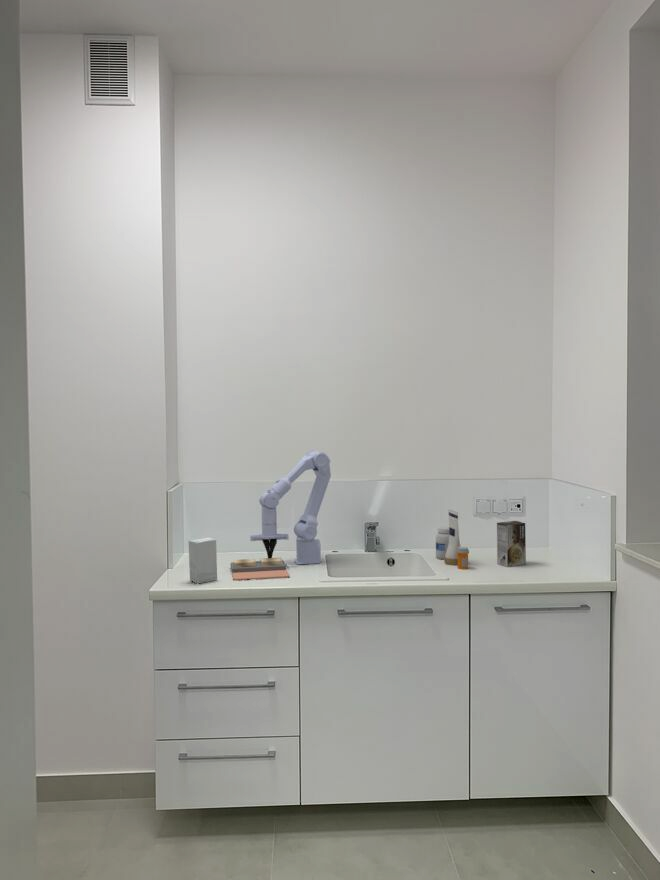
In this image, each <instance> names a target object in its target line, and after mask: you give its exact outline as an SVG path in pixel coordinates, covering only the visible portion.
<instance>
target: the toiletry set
mask: <svg viewBox="0 0 660 880" xmlns="http://www.w3.org/2000/svg"><path fill="white" fill-rule="evenodd" d="M447 511H448V526H438V527H437V533H436V536H435V558H436V559H438V560H444V564H446V565H449V566H457V569H458V570H468V569H469V553H470V550H469V547H466V546H461V542H460V535H459V533H460V531H459V515H458V514H459V513H458V512H457V511H454V510H452V509H449V508H448V509H447Z"/></svg>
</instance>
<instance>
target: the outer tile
mask: <svg viewBox="0 0 660 880" xmlns="http://www.w3.org/2000/svg"><path fill="white" fill-rule="evenodd" d="M233 562H234V567H254V566H256V559H255V558H248V559H247V558H245V559H233Z"/></svg>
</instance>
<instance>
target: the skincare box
mask: <svg viewBox="0 0 660 880" xmlns="http://www.w3.org/2000/svg"><path fill="white" fill-rule="evenodd" d="M217 559H218V558H217V539H215V538H212V537H210V536H209V537H207V536H206V537H202V538H196V539H190V540H188V560H189V561H188V562H189V581H190V582H192V581H193V582H192V583H194V582H195V583H194V584H196V583H200V584H204V583H208V582H213V581H217V580H218V567H217V566H218V564H217V562H218V561H217Z"/></svg>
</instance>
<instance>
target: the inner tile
mask: <svg viewBox="0 0 660 880" xmlns="http://www.w3.org/2000/svg"><path fill="white" fill-rule="evenodd" d="M259 561H260V564H261V566H273V565H283V561H284V560H283V559H282V557H272V558H268V557H267V558H266V557H264V558H260V559H259Z"/></svg>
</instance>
